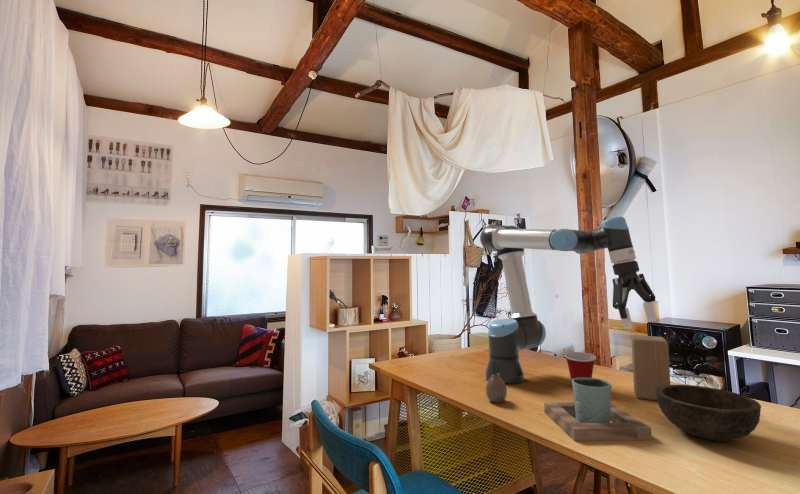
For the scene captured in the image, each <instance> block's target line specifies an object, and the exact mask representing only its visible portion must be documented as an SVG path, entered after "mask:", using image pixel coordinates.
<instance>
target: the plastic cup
mask: <svg viewBox="0 0 800 494" xmlns="http://www.w3.org/2000/svg"><path fill="white" fill-rule="evenodd" d="M564 358H565V360H566V363H567V365H568V371H569V375H570V380H571V381H572V379H574V378H581V377H586V378H593V371H594V365H595V362H596V359H597V357H596V355H594V354H592V353H588V352H582V351H571V352H566V353H565V354H564Z"/></svg>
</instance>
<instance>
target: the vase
mask: <svg viewBox="0 0 800 494" xmlns="http://www.w3.org/2000/svg"><path fill="white" fill-rule="evenodd" d="M506 385H507V384H505V383H504V381H503V380H502V379H501V377H500V375H499V374H492V376H491V378H490V379H489V380H487V382H486V385H485V394H486V397H487V399H488V400H489V401H490V402H492V403H494V404H500V403H503V402H504V401H505V400H506V399H507V392H508V391H507V389H508V388H507V386H506Z"/></svg>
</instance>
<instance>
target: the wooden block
mask: <svg viewBox="0 0 800 494" xmlns="http://www.w3.org/2000/svg"><path fill="white" fill-rule="evenodd" d="M630 339H631V356H632V357H631V359H632V375H633V376H632V377H633V378H632V379H633V390H634V395H635V397H636V398H637V399H638V400H639V399H640V400H646V401H647V400H648V401H656V402H658V401H657V396H656V389H657V388H658V387H660V386H665V385H671V375H670V354H669V353H670V352H669V342H668V341H667V340H666V338H665V337H663V336H655V335H653V336H650V335H637V334H636V335H635V334H634V335H632V336H631V338H630Z"/></svg>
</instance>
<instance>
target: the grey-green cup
mask: <svg viewBox="0 0 800 494" xmlns="http://www.w3.org/2000/svg"><path fill="white" fill-rule="evenodd" d="M571 384H572V391H573V402H575V403H574V404H575V413H576V416H575V419H576V420H577V421H579V422H580V423H611V421H610V409H611V404H610V403H612V400H611V397H612V383H611V382H609V381H608V380H604V379H600V378H594V377H592V378H586V377H581V378H574V379H572V380H571Z"/></svg>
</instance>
